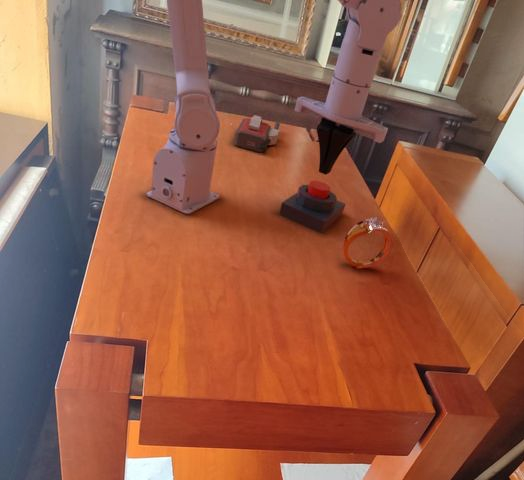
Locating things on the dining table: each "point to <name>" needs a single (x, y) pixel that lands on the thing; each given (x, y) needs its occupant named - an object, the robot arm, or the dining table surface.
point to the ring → (353, 234)
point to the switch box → (312, 209)
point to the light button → (318, 189)
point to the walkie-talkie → (256, 134)
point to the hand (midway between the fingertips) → (324, 171)
